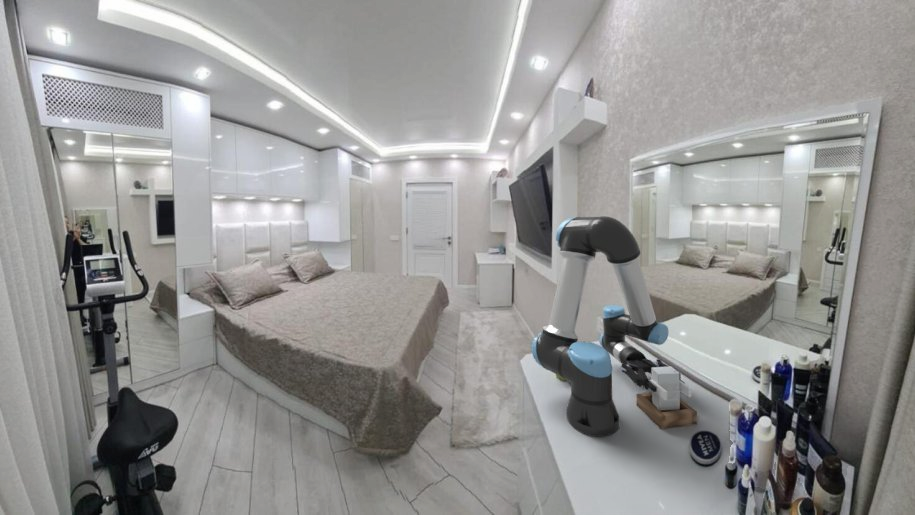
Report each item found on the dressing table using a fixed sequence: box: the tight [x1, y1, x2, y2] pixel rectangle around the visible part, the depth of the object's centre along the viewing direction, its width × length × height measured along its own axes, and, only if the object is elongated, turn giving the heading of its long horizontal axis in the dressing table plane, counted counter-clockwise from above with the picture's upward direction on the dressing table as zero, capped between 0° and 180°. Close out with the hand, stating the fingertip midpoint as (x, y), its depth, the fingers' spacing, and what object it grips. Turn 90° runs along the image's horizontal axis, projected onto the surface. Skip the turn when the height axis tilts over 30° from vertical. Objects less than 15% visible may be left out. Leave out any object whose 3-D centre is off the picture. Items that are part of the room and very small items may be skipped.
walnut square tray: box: [636, 391, 698, 430], centre depth 95 cm, size 11×11×4 cm
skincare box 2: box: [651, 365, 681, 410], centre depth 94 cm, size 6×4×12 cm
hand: (677, 394), depth 88 cm, fingers closed on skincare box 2, 6 cm apart
